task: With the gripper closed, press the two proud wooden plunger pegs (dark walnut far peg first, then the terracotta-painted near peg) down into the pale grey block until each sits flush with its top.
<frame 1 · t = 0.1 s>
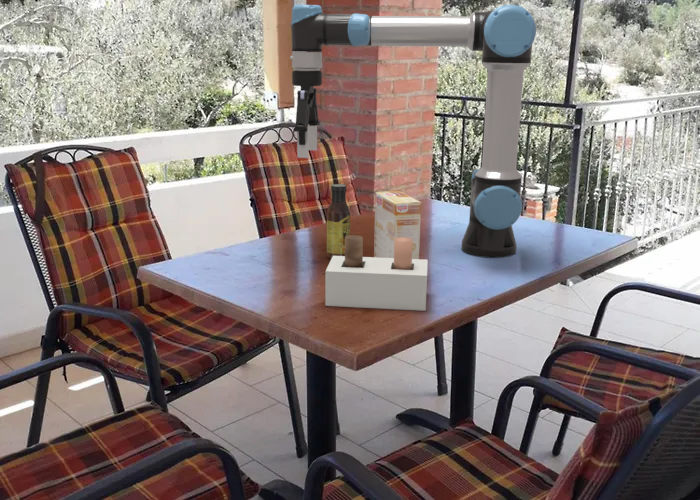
hand: (307, 153, 185), 28 cm above the table, fingers open, 13 cm apart
far peg: (353, 254, 159), point 10 cm above the table, slide at 6.0 cm
sauce bottle: (338, 258, 192), on the table
coffeecake box: (395, 272, 181), on the table
near peg: (402, 256, 158), point 10 cm above the table, slide at 6.0 cm
block: (377, 298, 161), on the table
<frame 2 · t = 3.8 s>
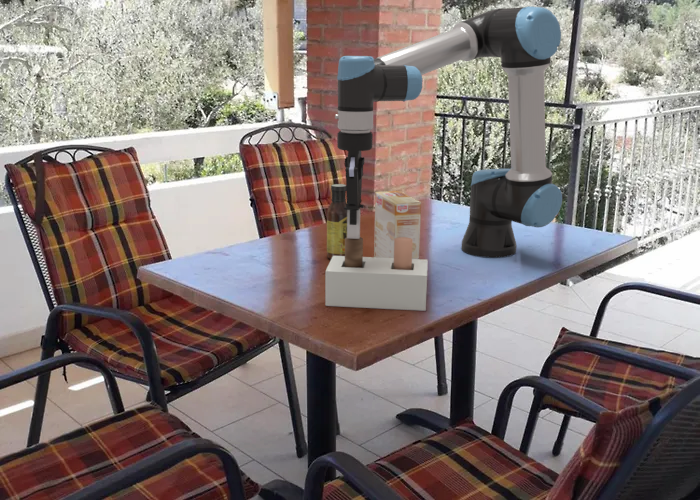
hand: (353, 237, 158), 14 cm above the table, fingers closed
far peg: (353, 255, 159), point 10 cm above the table, slide at 5.7 cm, touching gripper
everything else where it was.
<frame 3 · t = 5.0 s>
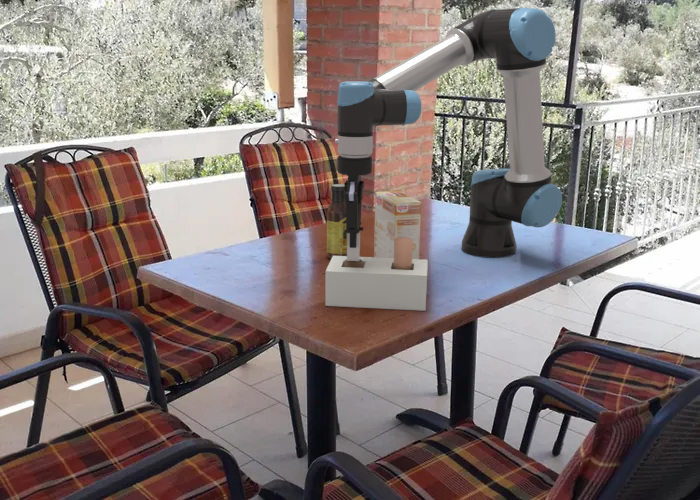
hand: (353, 260, 159), 9 cm above the table, fingers closed
far peg: (353, 277, 160), point 5 cm above the table, slide at 0.5 cm, touching gripper
everything else where it was.
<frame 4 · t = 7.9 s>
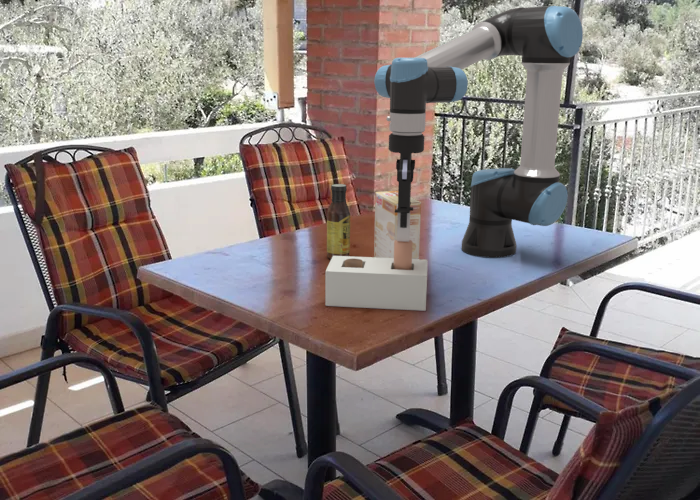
hand: (403, 240, 156), 14 cm above the table, fingers closed
far peg: (353, 278, 160), point 5 cm above the table, slide at 0.5 cm
near peg: (402, 258, 158), point 10 cm above the table, slide at 5.5 cm, touching gripper
everything else where it was.
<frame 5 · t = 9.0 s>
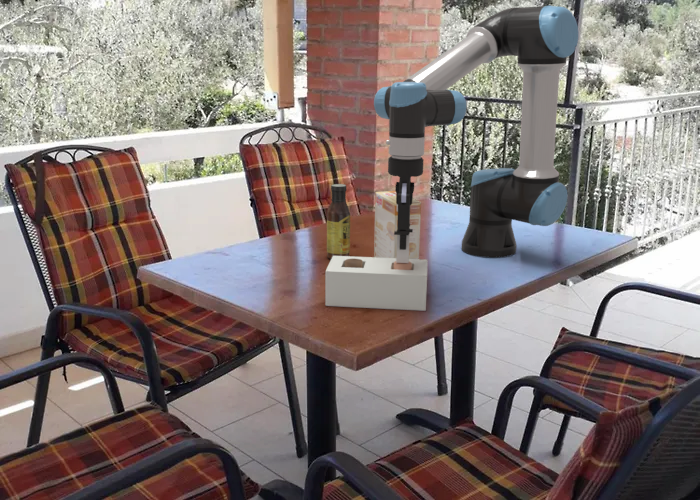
hand: (402, 262, 158), 9 cm above the table, fingers closed
near peg: (402, 280, 159), point 5 cm above the table, slide at 0.6 cm, touching gripper
everything else where it was.
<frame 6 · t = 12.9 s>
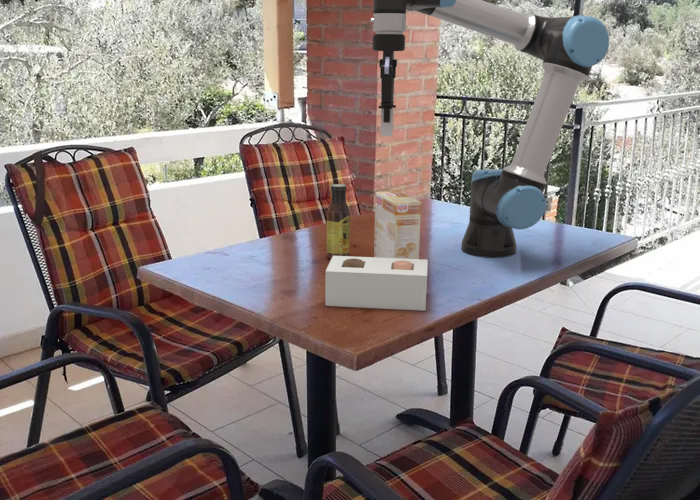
hand: (386, 135, 170), 34 cm above the table, fingers closed
near peg: (402, 280, 159), point 5 cm above the table, slide at 0.5 cm
everything else where it was.
at the end: far peg slide at 0.5 cm; near peg slide at 0.5 cm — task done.
